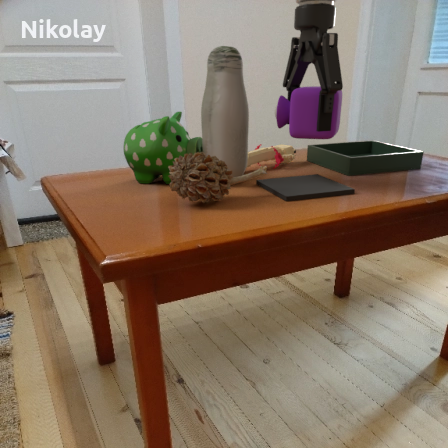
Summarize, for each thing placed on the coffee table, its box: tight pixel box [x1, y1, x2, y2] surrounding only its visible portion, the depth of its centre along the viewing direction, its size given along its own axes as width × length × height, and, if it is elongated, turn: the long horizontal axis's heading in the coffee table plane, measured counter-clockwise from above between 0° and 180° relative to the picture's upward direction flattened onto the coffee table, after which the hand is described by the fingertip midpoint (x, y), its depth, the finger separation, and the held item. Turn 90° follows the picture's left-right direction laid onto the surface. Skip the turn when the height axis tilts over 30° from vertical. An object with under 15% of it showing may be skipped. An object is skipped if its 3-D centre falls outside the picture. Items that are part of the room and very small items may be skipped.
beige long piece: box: [246, 143, 297, 169], centre depth 115 cm, size 10×9×25 cm
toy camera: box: [274, 85, 343, 140], centre depth 90 cm, size 11×14×10 cm
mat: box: [255, 173, 356, 202], centre depth 97 cm, size 16×16×1 cm
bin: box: [306, 139, 425, 177], centre depth 119 cm, size 22×22×4 cm
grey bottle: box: [200, 45, 250, 178], centre depth 97 cm, size 10×10×28 cm
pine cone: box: [168, 152, 270, 204], centre depth 88 cm, size 22×10×10 cm, turn 120°
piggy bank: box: [123, 111, 203, 185], centre depth 103 cm, size 14×18×15 cm
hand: (307, 127), depth 91 cm, fingers closed on toy camera, 13 cm apart
